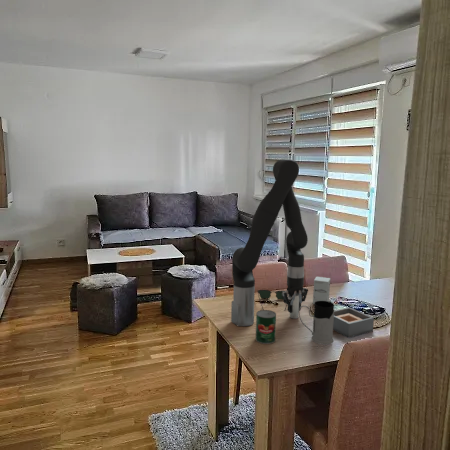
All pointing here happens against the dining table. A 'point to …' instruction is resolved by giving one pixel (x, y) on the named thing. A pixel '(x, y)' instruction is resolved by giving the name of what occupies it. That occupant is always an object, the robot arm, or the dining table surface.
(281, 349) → the dining table surface
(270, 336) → the canned tomato
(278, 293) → the sunglasses
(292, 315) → the peg
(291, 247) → the robot arm
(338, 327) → the walled box
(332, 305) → the mug
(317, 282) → the supplement box
